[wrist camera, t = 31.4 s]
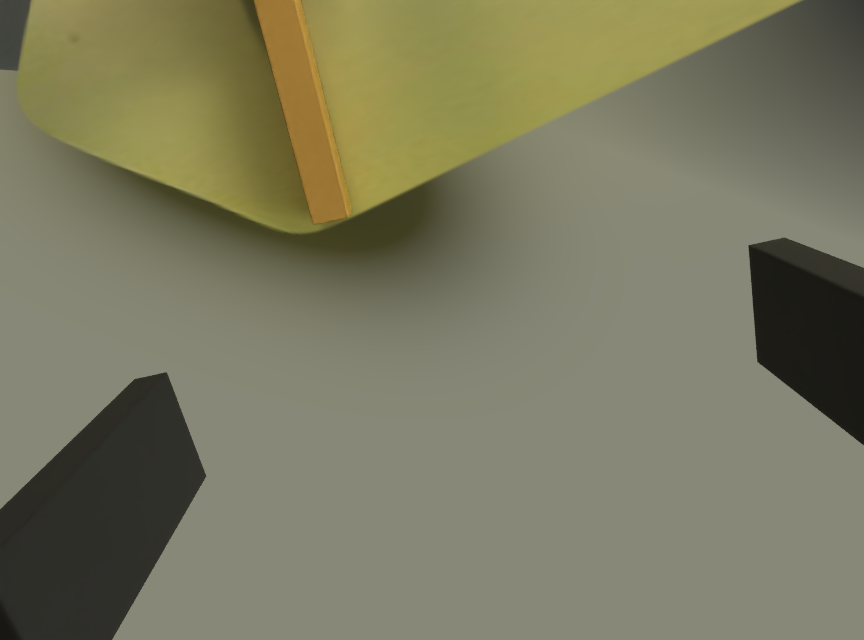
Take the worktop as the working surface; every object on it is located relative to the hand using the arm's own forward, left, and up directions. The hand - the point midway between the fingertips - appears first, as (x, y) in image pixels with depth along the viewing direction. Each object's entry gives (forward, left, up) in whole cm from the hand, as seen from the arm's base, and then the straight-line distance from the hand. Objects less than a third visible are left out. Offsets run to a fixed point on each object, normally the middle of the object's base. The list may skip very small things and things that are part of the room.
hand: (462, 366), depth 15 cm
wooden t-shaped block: (-11, +4, -32) cm, 34 cm away
